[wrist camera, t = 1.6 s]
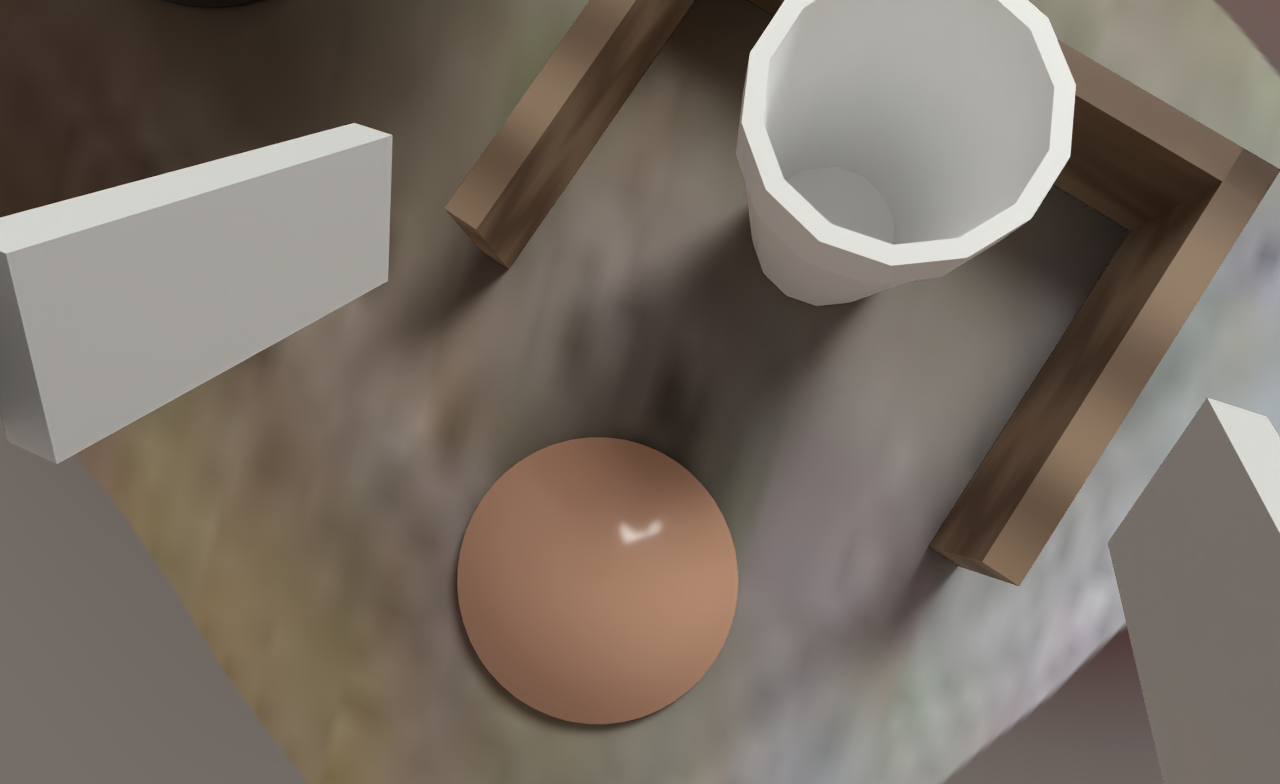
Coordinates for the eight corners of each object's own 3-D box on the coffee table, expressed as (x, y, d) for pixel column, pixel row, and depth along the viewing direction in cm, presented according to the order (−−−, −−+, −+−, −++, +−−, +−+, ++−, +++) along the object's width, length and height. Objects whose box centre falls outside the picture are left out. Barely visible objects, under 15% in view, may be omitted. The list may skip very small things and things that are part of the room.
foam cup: (857, 97, 36) (957, -108, 24) (972, 267, 35) (1143, 150, 23) (678, 206, 36) (680, 59, 23) (789, 379, 35) (854, 326, 22)
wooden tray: (701, -65, 38) (706, -166, 32) (1178, 220, 35) (1280, 169, 29) (481, 251, 36) (444, 208, 31) (959, 566, 34) (1019, 586, 28)
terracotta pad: (562, 385, 36) (560, 383, 35) (790, 538, 35) (793, 540, 34) (407, 613, 35) (402, 616, 34) (635, 777, 34) (635, 783, 33)
